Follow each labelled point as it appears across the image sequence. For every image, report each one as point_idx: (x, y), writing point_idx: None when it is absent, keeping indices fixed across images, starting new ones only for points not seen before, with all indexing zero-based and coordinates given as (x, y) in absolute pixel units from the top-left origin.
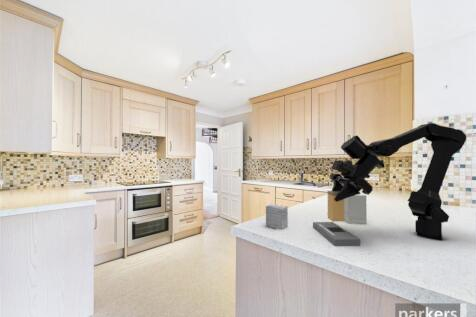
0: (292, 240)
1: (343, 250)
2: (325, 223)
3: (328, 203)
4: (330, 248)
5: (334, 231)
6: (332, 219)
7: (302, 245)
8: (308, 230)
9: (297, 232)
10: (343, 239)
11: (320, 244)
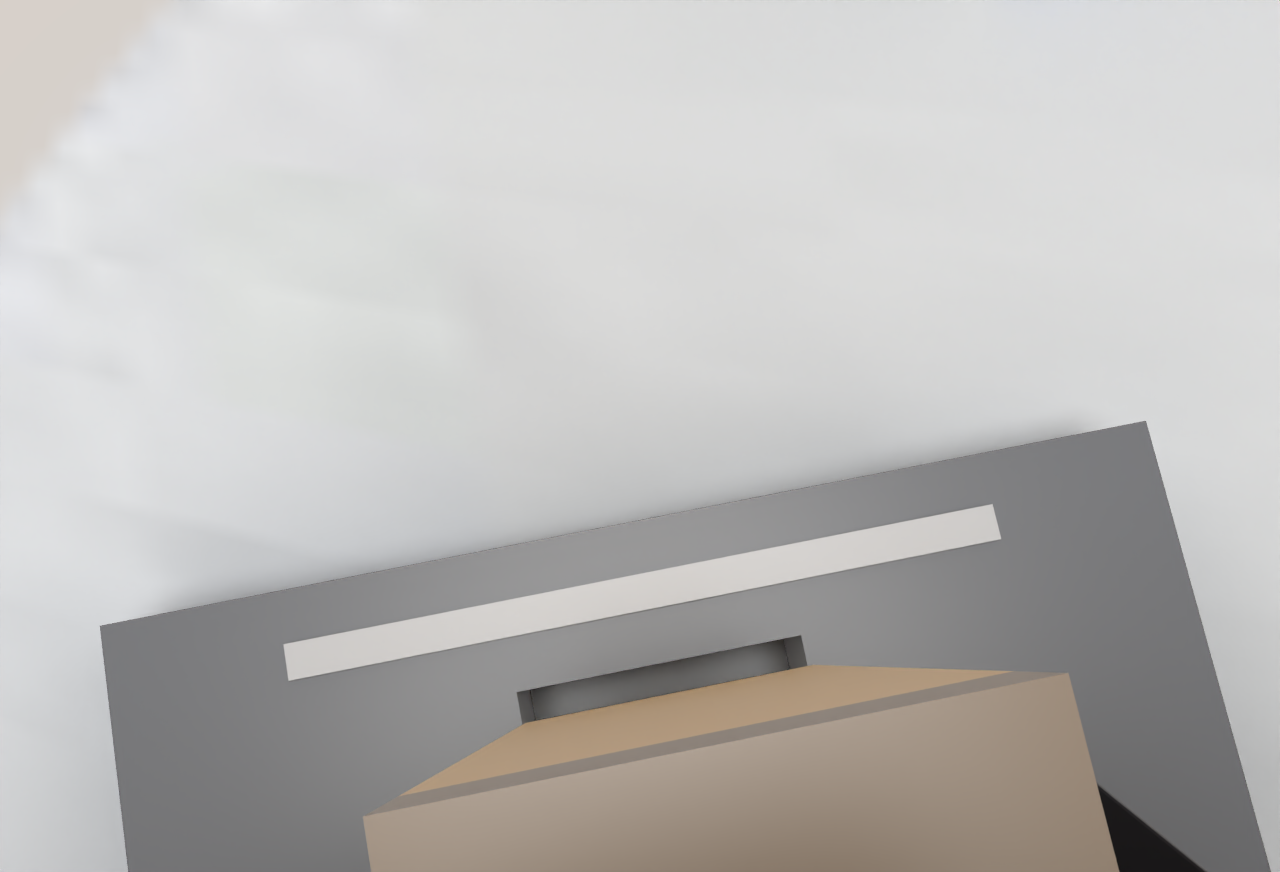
0: (378, 8)
1: (59, 736)
2: (1107, 689)
3: (826, 681)
4: (118, 546)
5: None
6: (548, 719)
7: (190, 136)
8: (943, 337)
9: (784, 123)
10: (119, 790)
11: (264, 422)
